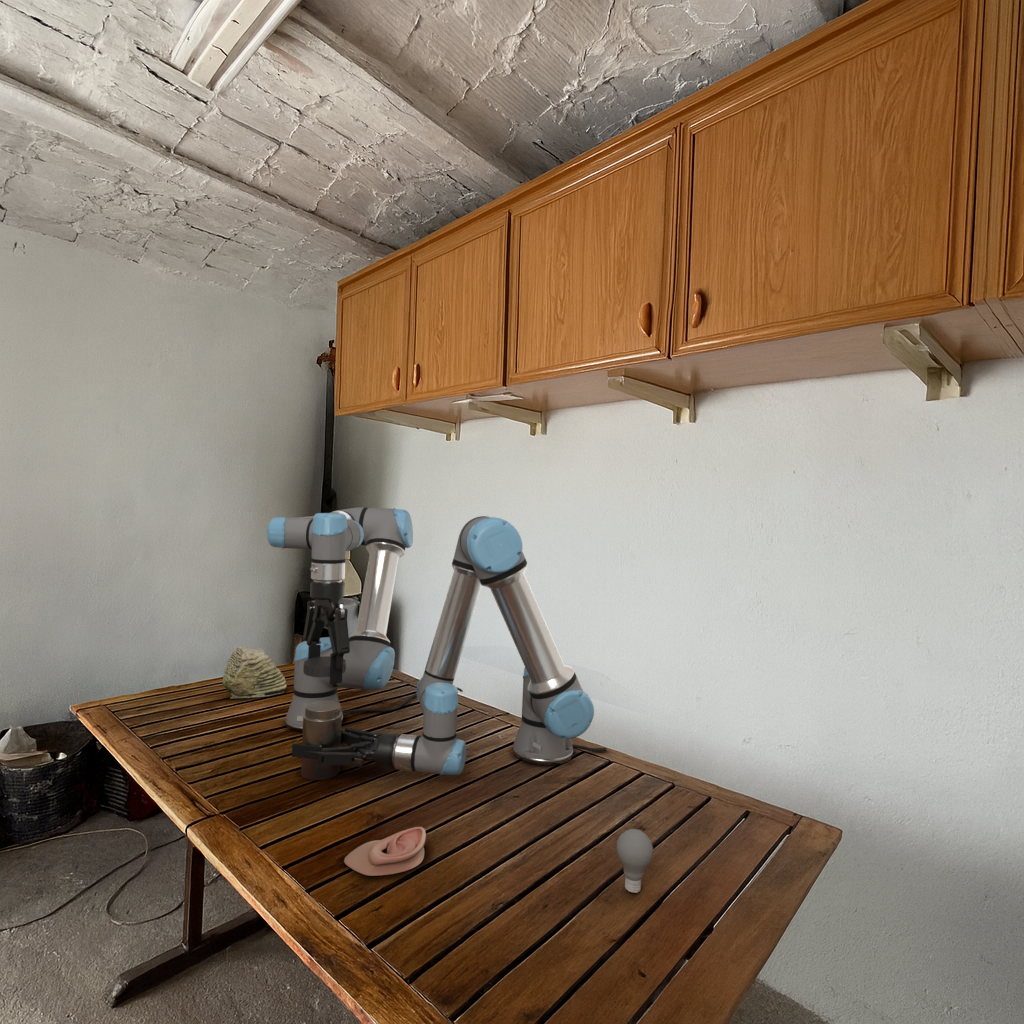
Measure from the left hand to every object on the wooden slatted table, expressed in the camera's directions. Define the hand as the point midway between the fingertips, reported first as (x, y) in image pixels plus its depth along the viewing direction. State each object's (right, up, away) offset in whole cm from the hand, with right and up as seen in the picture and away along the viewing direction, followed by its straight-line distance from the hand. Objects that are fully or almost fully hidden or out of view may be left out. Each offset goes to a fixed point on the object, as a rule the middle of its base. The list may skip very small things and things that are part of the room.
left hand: (324, 678), depth 145 cm
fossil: (-38, -19, +53) cm, 67 cm away
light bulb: (+63, -25, -40) cm, 79 cm away
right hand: (-5, -15, +1) cm, 16 cm away
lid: (0, +3, 0) cm, 3 cm away
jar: (-1, -22, 0) cm, 22 cm away
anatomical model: (+21, -23, -34) cm, 46 cm away
